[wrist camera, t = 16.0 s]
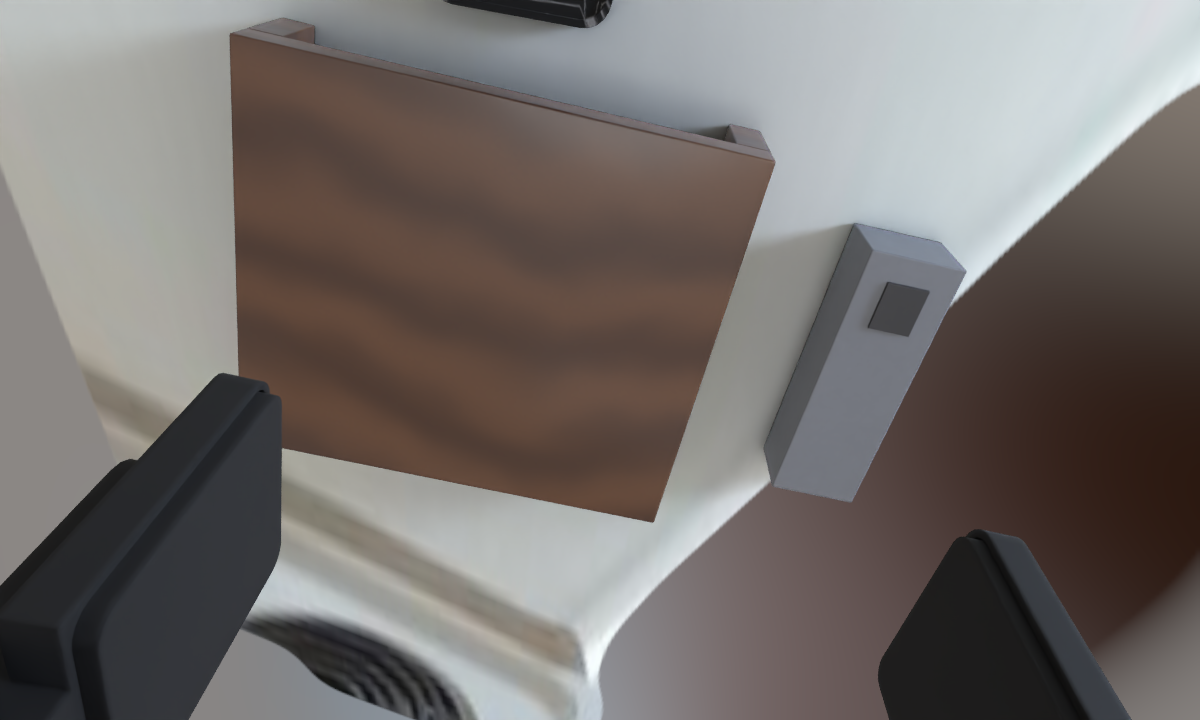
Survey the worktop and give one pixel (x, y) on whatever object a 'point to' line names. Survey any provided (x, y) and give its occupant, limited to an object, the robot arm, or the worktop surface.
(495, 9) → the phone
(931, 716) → the robot arm
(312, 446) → the shelf
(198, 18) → the worktop surface
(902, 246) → the grey long block
